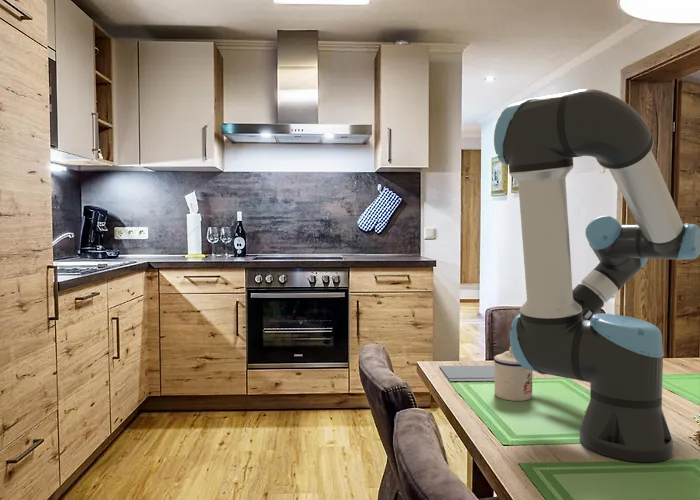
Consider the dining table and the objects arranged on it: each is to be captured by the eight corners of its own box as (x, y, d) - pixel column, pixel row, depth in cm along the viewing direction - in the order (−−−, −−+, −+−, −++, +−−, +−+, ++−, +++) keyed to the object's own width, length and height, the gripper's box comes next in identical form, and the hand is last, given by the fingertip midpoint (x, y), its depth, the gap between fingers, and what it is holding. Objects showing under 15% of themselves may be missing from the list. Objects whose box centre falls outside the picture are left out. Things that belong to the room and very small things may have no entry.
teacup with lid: (532, 403, 123) (533, 352, 123) (491, 399, 126) (492, 350, 126) (533, 389, 134) (534, 342, 134) (496, 385, 138) (496, 340, 137)
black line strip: (530, 381, 141) (530, 380, 141) (450, 382, 141) (450, 380, 141) (527, 379, 143) (527, 378, 143) (448, 379, 143) (448, 378, 143)
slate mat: (523, 378, 144) (523, 377, 144) (448, 379, 144) (448, 377, 144) (507, 366, 157) (507, 365, 157) (439, 367, 157) (439, 366, 157)
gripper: (630, 311, 119) (562, 380, 119) (580, 297, 143) (524, 354, 144) (606, 287, 118) (538, 356, 119) (561, 278, 143) (504, 335, 144)
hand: (530, 355), depth 131 cm, fingers open, 13 cm apart
